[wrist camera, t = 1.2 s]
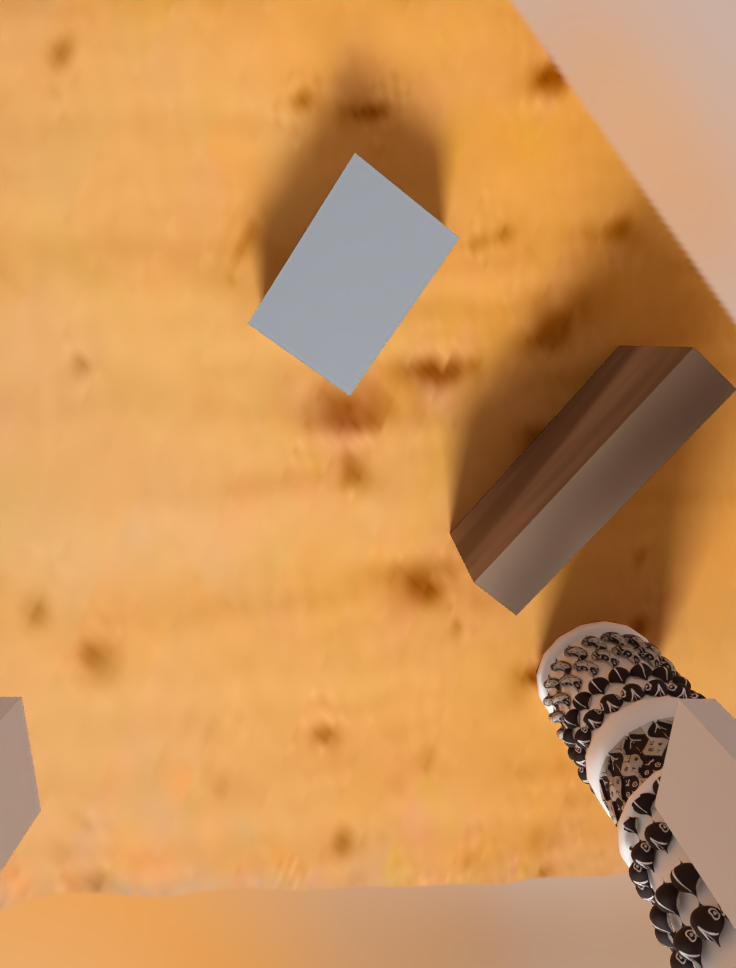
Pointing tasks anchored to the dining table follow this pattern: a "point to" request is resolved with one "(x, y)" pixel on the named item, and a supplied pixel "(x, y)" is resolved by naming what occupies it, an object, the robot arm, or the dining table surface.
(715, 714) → the robot arm
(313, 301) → the slate block
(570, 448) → the board
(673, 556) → the dining table surface
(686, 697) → the decorative candle
